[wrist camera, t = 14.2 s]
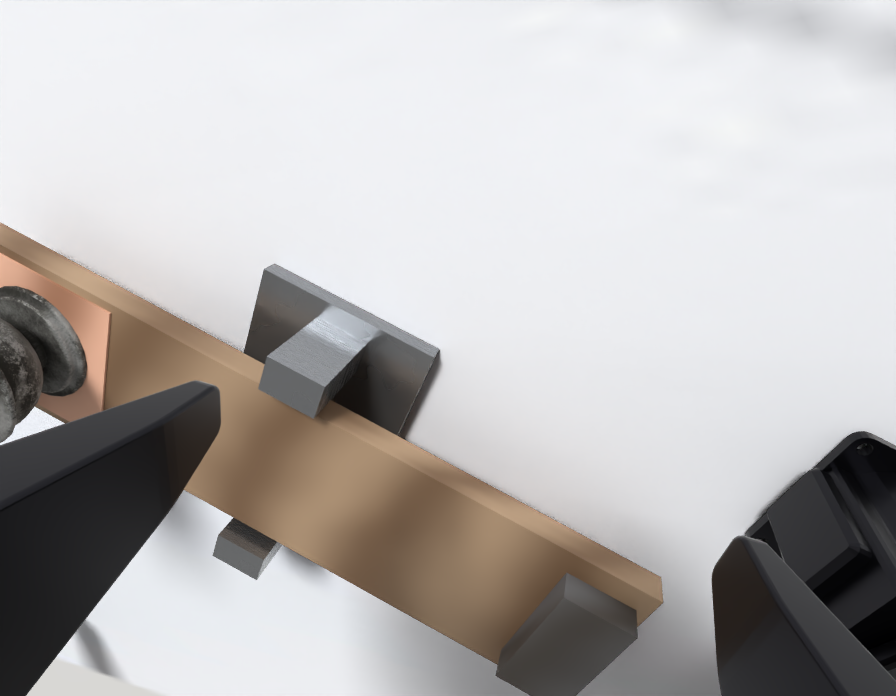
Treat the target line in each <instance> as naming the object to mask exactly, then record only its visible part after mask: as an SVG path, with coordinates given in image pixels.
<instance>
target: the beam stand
mask: <svg viewBox="0 0 896 696" xmlns="http://www.w3.org/2000/svg"><path fill="white" fill-rule="evenodd" d="M438 351H439V349H438V348H436V347H434V346H432V345H430V344H428V343H426V342H424V341H423V340H421V339H419V338H417V337H415V336H413V335H411V334H409V333H407V332H405V331H403V330H401V329H399V328H397V327H396V326H394V325H392V324H390V323H388V322H386V321H384V320H382V319H380V318H378V317H376V316H374V315H372V314H371V313H369V312H367V311H365V310H363V309H361V308H359V307H357V306H355V305H353V304H351V303H349V302H347V301H345V300H344V299H342V298H340V297H338V296H336V295H334V294H332V293H330V292H328V291H326V290H324V289H322V288H320V287H318V286H317V285H315V284H313V283H311V282H309V281H307V280H305V279H303V278H301V277H299V276H297V275H295V274H293V273H292V272H290V271H288V270H286V269H284V268H282V267H280V266H278V265H276V264H273V265H271V266H269V267H267V268H265V269H264V271H263V275H262V280H261V284H260V288H259V292H258V296H257V300H256V304H255V308H254V312H253V317H252V321H251V325H250V329H249V333H248V337H247V341H246V345H245V350H244V354H246V355H248V356H250V357H252V358H254V359H255V360H257V361H259V362H261V363H263V364H265V365H264V369H263V372H262V376H261V380H260V383H259V387H258V389H259V390H260V391H262V392H264V393H266V394H268V395H270V396H272V397H274V398H275V399H277V400H279V401H281V402H283V403H285V404H287V405H289V406H290V407H292V408H294V409H296V410H298V411H300V412H302V413H304V414H305V415H307V416H309V417H311V418H313V419H314V418H315V417H316V416H317V415H318V414H319V412H320V411H321V410H322V409H323V408H324V407H325V406H326V405H327V404H328V403H329V401H330V400H332V401H334V402H335V403H337V404H339V405H341V406H343V407H345V408H347V409H349V410H350V411H352V412H354V413H356V414H358V415H360V416H362V417H363V418H365V419H367V420H369V421H371V422H373V423H375V424H376V425H378V426H380V427H382V428H384V429H386V430H388V431H389V432H391V433H393V434H395V435H397V436H399V433H400V431H401V429H402V427H403V425H404V423H405V421H406V419H407V416H408V414H409V412H410V410H411V408H412V406H413V404H414V402H415V400H416V397H417V395H418V393H419V391H420V389H421V387H422V385H423V383H424V381H425V378H426V376H427V374H428V372H429V370H430V368H431V366H432V364H433V361H434V359H435V357H436V355H437V353H438ZM281 546H282V544H280V543H279V542H277V541H275V540H273V539H271V538H270V537H268V536H266V535H264V534H262V533H261V532H259V531H257V530H255V529H253V528H252V527H250V526H248V525H246V524H245V523H243V522H241V521H239V520H237V519H236V518H233V519H232V520H231V521H230V522H229V524H228V525H227V526H226V527H225V528H224V529H223V530H222V531H221V533H220V534H219V535H218V538H217V542H216V545H215V549H214V553H213V556H214V557H216V558H218V559H220V560H222V561H223V562H225V563H227V564H229V565H231V566H232V567H234V568H236V569H238V570H240V571H241V572H243V573H245V574H247V575H249V576H250V577H252V578H254V579H256V580H257V579H258V578H259V576H260V575H261V573H262V572H263V571H264V569H265V568H266V567H267V565H268V564H269V562H270V561H271V560H272V558H273V557H274V556H275V554H276V553H277V551H278V550H279V549H280V547H281Z"/></svg>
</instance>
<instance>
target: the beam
mask: <svg viewBox="0 0 896 696" xmlns="http://www.w3.org/2000/svg"><path fill="white" fill-rule="evenodd" d="M4 286H19V287H22V288H25V289H29V290H31V291H33V292H35V293H36V294H38V295H40V296H42V297H44V298H45V299H46V300H47V301H49V302H50V303H51V304H52V305H53V306H55V307H56V308H57V309H58V310H59V311H60V312H61V313H62V315H63V316H64V317H65V318H66V319H67V320H68V321H69V323H70V324H71V326H72V327H73V329H74V331H75V332H76V334H77V335H78V337H79V340H80V342H81V344H82V347H83V349H84V352H85V357H86V362H87V373H86V379H85V381H84V383H83V385H82V387H81V388H80V389H78V390H77V391H76V392H75V393H73V394H70V395H67V396H63V397H61V396H50V395H47V394H44V393H41V395H40V398H39V400H38V403H37V404H36V405H35V407H37V408H39V409H40V410H42V411H44V412H46V413H47V414H49V415H51V416H53V417H55V418H56V419H58V420H60V421H62V422H64V423H68V422H71V421H74V420H77V419H80V418H83V417H86V416H89V415H92V414H95V413H98V412H101V411H104V410H107V409H110V408H113V407H116V406H119V405H122V404H125V403H128V402H131V401H134V400H137V399H140V398H143V397H146V396H149V395H152V394H154V393H157V392H160V391H163V390H166V389H169V388H172V387H175V386H178V385H181V384H184V383H187V382H190V381H194V380H197V381H202V382H206V383H209V384H213V385H215V386H217V387H218V388H219V390H220V401H221V426H220V430H219V433H218V435H217V437H216V438H215V440H214V442H213V443H212V445H211V446H210V448H209V450H208V451H207V453H206V454H205V456H204V458H203V459H202V461H201V463H200V464H199V466H198V467H197V469H196V471H195V472H194V474H193V475H192V477H191V479H190V480H189V482H188V483H187V485H186V487H185V488H184V490H185V491H187V492H189V493H191V494H193V495H194V496H196V497H198V498H200V499H202V500H203V501H205V502H207V503H209V504H210V505H212V506H214V507H216V508H218V509H219V510H221V511H223V512H225V513H227V514H228V515H230V516H232V517H234V518H236V519H237V520H239V521H241V522H243V523H245V524H246V525H248V526H250V527H252V528H253V529H255V530H257V531H259V532H261V533H262V534H264V535H266V536H268V537H270V538H271V539H273V540H275V541H277V542H279V543H280V544H282V545H284V546H286V547H288V548H289V549H291V550H293V551H295V552H296V553H298V554H300V555H302V556H304V557H305V558H307V559H309V560H311V561H313V562H314V563H316V564H318V565H320V566H322V567H323V568H325V569H327V570H329V571H330V572H332V573H334V574H336V575H338V576H339V577H341V578H343V579H345V580H347V581H348V582H350V583H352V584H354V585H356V586H357V587H359V588H361V589H363V590H365V591H366V592H368V593H370V594H372V595H373V596H375V597H377V598H379V599H381V600H382V601H384V602H386V603H388V604H390V605H391V606H393V607H395V608H397V609H399V610H400V611H402V612H404V613H406V614H408V615H409V616H411V617H413V618H415V619H416V620H418V621H420V622H422V623H424V624H425V625H427V626H429V627H431V628H433V629H434V630H436V631H438V632H440V633H442V634H443V635H445V636H447V637H449V638H451V639H452V640H454V641H456V642H458V643H459V644H461V645H463V646H465V647H467V648H468V649H470V650H472V651H474V652H476V653H477V654H479V655H481V656H483V657H485V658H486V659H488V660H490V661H492V662H494V663H495V664H497V665H498V667H497V671H496V676H497V677H499V678H500V679H502V680H504V681H506V682H508V683H509V684H511V685H513V686H515V687H516V688H518V689H520V690H522V691H524V692H525V693H527V694H529V695H531V696H576V695H577V694H578V693H579V692H580V691H581V690H582V689H583V688H584V687H585V686H586V685H588V684H589V683H590V682H591V681H592V680H593V679H594V678H595V677H596V676H597V675H598V674H599V673H600V672H601V671H603V670H604V669H605V668H606V667H607V666H608V665H609V664H610V663H611V662H612V661H613V660H614V659H615V658H616V657H618V656H619V655H620V654H621V653H622V652H623V651H624V650H625V649H626V648H627V647H628V646H629V645H630V644H631V643H633V642H634V641H635V640H636V639H637V627H638V626H639V625H640V624H641V623H642V622H643V621H644V620H645V619H646V618H647V617H649V616H650V615H651V614H652V613H653V612H654V611H655V610H656V609H657V608H658V607H659V606H660V605H661V604H662V603H663V594H662V583H661V577H659V576H658V575H656V574H654V573H652V572H650V571H648V570H646V569H644V568H643V567H641V566H639V565H637V564H635V563H633V562H631V561H630V560H628V559H626V558H624V557H622V556H620V555H618V554H617V553H615V552H613V551H611V550H609V549H607V548H605V547H604V546H602V545H600V544H598V543H596V542H594V541H592V540H590V539H589V538H587V537H585V536H583V535H581V534H579V533H577V532H576V531H574V530H572V529H570V528H568V527H566V526H564V525H563V524H561V523H559V522H557V521H555V520H553V519H551V518H550V517H548V516H546V515H544V514H542V513H540V512H538V511H537V510H535V509H533V508H531V507H529V506H527V505H525V504H523V503H522V502H520V501H518V500H516V499H514V498H512V497H510V496H509V495H507V494H505V493H503V492H501V491H499V490H497V489H496V488H494V487H492V486H490V485H488V484H486V483H484V482H483V481H481V480H479V479H477V478H475V477H473V476H471V475H469V474H468V473H466V472H464V471H462V470H460V469H458V468H456V467H455V466H453V465H451V464H449V463H447V462H445V461H443V460H442V459H440V458H438V457H436V456H434V455H432V454H430V453H429V452H427V451H425V450H423V449H421V448H419V447H417V446H416V445H414V444H412V443H410V442H408V441H406V440H404V439H402V438H401V437H399V436H397V435H395V434H393V433H391V432H389V431H388V430H386V429H384V428H382V427H380V426H378V425H376V424H375V423H373V422H371V421H369V420H367V419H365V418H363V417H362V416H360V415H358V414H356V413H354V412H352V411H350V410H349V409H347V408H345V407H343V406H341V405H339V404H337V403H335V402H334V401H332V400H330V401H329V403H328V404H327V405H326V406H325V407H324V408H323V409H322V410H321V411H320V412H319V414H318V415H317V416H316V417H315V418H314V419H313V418H311V417H309V416H307V415H305V414H304V413H302V412H300V411H298V410H296V409H294V408H292V407H290V406H289V405H287V404H285V403H283V402H281V401H279V400H277V399H275V398H274V397H272V396H270V395H268V394H266V393H264V392H262V391H260V390H259V389H258V387H259V383H260V380H261V376H262V372H263V369H264V365H265V364H263V363H261V362H259V361H257V360H255V359H254V358H252V357H250V356H248V355H246V354H244V353H242V352H241V351H239V350H237V349H235V348H233V347H231V346H229V345H228V344H226V343H224V342H222V341H220V340H218V339H216V338H214V337H213V336H211V335H209V334H207V333H205V332H203V331H201V330H200V329H198V328H196V327H194V326H192V325H190V324H188V323H187V322H185V321H183V320H181V319H179V318H177V317H175V316H174V315H172V314H170V313H168V312H166V311H164V310H162V309H161V308H159V307H157V306H155V305H153V304H151V303H149V302H147V301H146V300H144V299H142V298H140V297H138V296H136V295H134V294H133V293H131V292H129V291H127V290H125V289H123V288H121V287H120V286H118V285H116V284H114V283H112V282H110V281H108V280H107V279H105V278H103V277H101V276H99V275H97V274H95V273H93V272H92V271H90V270H88V269H86V268H84V267H82V266H80V265H79V264H77V263H75V262H73V261H71V260H69V259H67V258H66V257H64V256H62V255H60V254H58V253H56V252H54V251H53V250H51V249H49V248H47V247H45V246H43V245H41V244H40V243H38V242H36V241H34V240H32V239H30V238H28V237H26V236H25V235H23V234H21V233H19V232H17V231H15V230H13V229H12V228H10V227H8V226H6V225H4V224H2V223H0V288H1V287H4Z"/></svg>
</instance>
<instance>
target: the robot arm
mask: <svg viewBox="0 0 896 696" xmlns="http://www.w3.org/2000/svg"><path fill="white" fill-rule="evenodd" d="M220 426H221V401H220V390H219V388H218V387H217V386H215V385H213V384H209V383H206V382H202V381H197V380H194V381H190V382H187V383H184V384H181V385H178V386H175V387H172V388H169V389H166V390H163V391H160V392H157V393H154V394H152V395H149V396H146V397H143V398H140V399H137V400H134V401H131V402H128V403H125V404H122V405H119V406H116V407H113V408H110V409H107V410H104V411H101V412H98V413H95V414H92V415H89V416H86V417H83V418H80V419H77V420H74V421H71V422H68V423H65V424H62V425H59V426H57V427H54V428H51V429H48V430H45V431H42V432H39V433H36V434H33V435H30V436H27V437H24V438H21V439H18V440H15V441H12V442H9V443H6V444H3V445H0V696H26V695H27V694H28V692H29V691H30V690H31V688H32V687H33V686H34V685H35V683H36V682H37V681H38V679H39V678H40V677H41V676H42V674H43V673H44V672H45V670H46V669H47V668H48V666H49V665H50V664H51V663H52V662H53V660H54V659H55V658H56V656H57V655H58V654H59V653H60V651H61V650H62V649H63V647H64V646H65V645H66V644H67V642H68V641H69V640H70V638H71V637H72V636H73V635H74V633H75V632H76V631H77V629H78V628H79V627H80V626H81V624H82V623H83V622H84V620H85V619H86V618H87V617H88V615H89V614H90V613H91V611H92V610H93V609H94V608H95V606H96V605H97V604H98V603H99V601H100V600H101V599H102V597H103V596H104V595H105V594H106V592H107V591H108V590H109V588H110V587H111V586H112V585H113V583H114V582H115V581H116V579H117V578H118V577H119V576H120V574H121V573H122V572H123V570H124V569H125V568H126V567H127V565H128V564H129V563H130V561H131V560H132V559H133V558H134V556H135V555H136V554H137V552H138V551H139V550H140V549H141V547H142V546H143V545H144V543H145V542H146V541H147V540H148V538H149V537H150V536H151V535H152V533H153V532H154V531H155V529H156V528H157V527H158V526H159V524H160V523H161V522H162V520H163V519H164V518H165V516H166V515H167V514H168V512H169V511H170V510H171V508H172V507H173V505H174V504H175V502H176V501H177V499H178V498H179V496H180V495H181V493H182V492H183V490H184V488H185V487H186V485H187V483H188V482H189V480H190V479H191V477H192V475H193V474H194V472H195V471H196V469H197V467H198V466H199V464H200V463H201V461H202V459H203V458H204V456H205V454H206V453H207V451H208V450H209V448H210V446H211V445H212V443H213V442H214V440H215V438H216V437H217V435H218V433H219V430H220ZM865 443H867V444H868V446H867V447H865V448H863V449H857V447H858V446H859V445H861V444H865ZM758 538H764V540H757V539H758ZM712 593H713V609H714V624H715V640H716V655H717V667H718V676H719V683H720V689H721V695H722V696H896V446H895V445H893V444H891V443H889V442H887V441H885V440H883V439H881V438H879V437H877V436H875V435H873V434H871V433H868V432H865V431H861V432H855V433H852V434H851V435H849V436H848V437H846V438H845V439H844V440H843V441H842V442H841V443H840V444H839V445H838V446H837V447H836V448H835V449H834V450H833V451H832V452H831V453H829V454H828V455H827V456H826V457H825V458H824V459H823V460H822V461H821V462H820V463H819V464H818V465H817V466H816V467H815V468H814V469H812V470H809V471H808V472H807V473H806V474H805V475H804V476H803V477H802V478H801V479H799V480H798V481H797V482H796V483H795V484H794V485H793V486H792V487H791V488H790V489H789V490H788V491H787V492H786V493H785V494H784V495H783V496H781V497H780V498H779V499H778V500H777V501H776V502H775V503H774V504H773V505H772V506H771V507H770V508H769V509H768V510H767V513H766V514H765V515H764V516H762V517H761V518H760V519H759V520H758V521H757V522H756V523H755V524H754V525H753V526H752V527H751V528H750V529H749V530H748V531H747V532H746V536H737V537H735V538H734V539H733V540H732V542H731V543H730V545H729V546H728V547H727V549H726V550H725V552H724V553H723V555H722V556H721V558H720V559H719V560H718V562H717V563H716V565H715V567H714V569H713V573H712Z"/></svg>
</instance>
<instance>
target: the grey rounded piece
mask: <svg viewBox="0 0 896 696" xmlns="http://www.w3.org/2000/svg"><path fill="white" fill-rule="evenodd" d="M86 373H87V362H86V357H85V352H84V349H83V347H82V344H81V342H80V340H79V337H78V335H77V334H76V332H75V331H74V329H73V327H72V326H71V324H70V323H69V321H68V320H67V319H66V318H65V317H64V316H63V315H62V313H61V312H60V311H59V310H58V309H57V308H56V307H55V306H53V305H52V304H51V303H50V302H49V301H47V300H46V299H45V298H44V297H42V296H40V295H38V294H36V293H35V292H33V291H31V290H29V289H25V288H22V287H19V286H4V287H1V288H0V443H1V442H3V441H5V440H6V439H7V438H8V437H9V436H10V435H11V434H12V433H13V430H14V427H15V425H16V424H18V423H20V422H21V421H22V420H23V419H24V418H25V417H26V416H27V415H28V414H29V413H30V411H31V410H32V409H33V408H34V406H35V405H36V404H37V403H38V400H39V398H40V395H41V393H44V394H47V395H50V396H61V397H63V396H67V395H70V394H73V393H75V392H76V391H77V390H78V389H80V388H81V387H82V385H83V383H84V381H85V379H86Z"/></svg>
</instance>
